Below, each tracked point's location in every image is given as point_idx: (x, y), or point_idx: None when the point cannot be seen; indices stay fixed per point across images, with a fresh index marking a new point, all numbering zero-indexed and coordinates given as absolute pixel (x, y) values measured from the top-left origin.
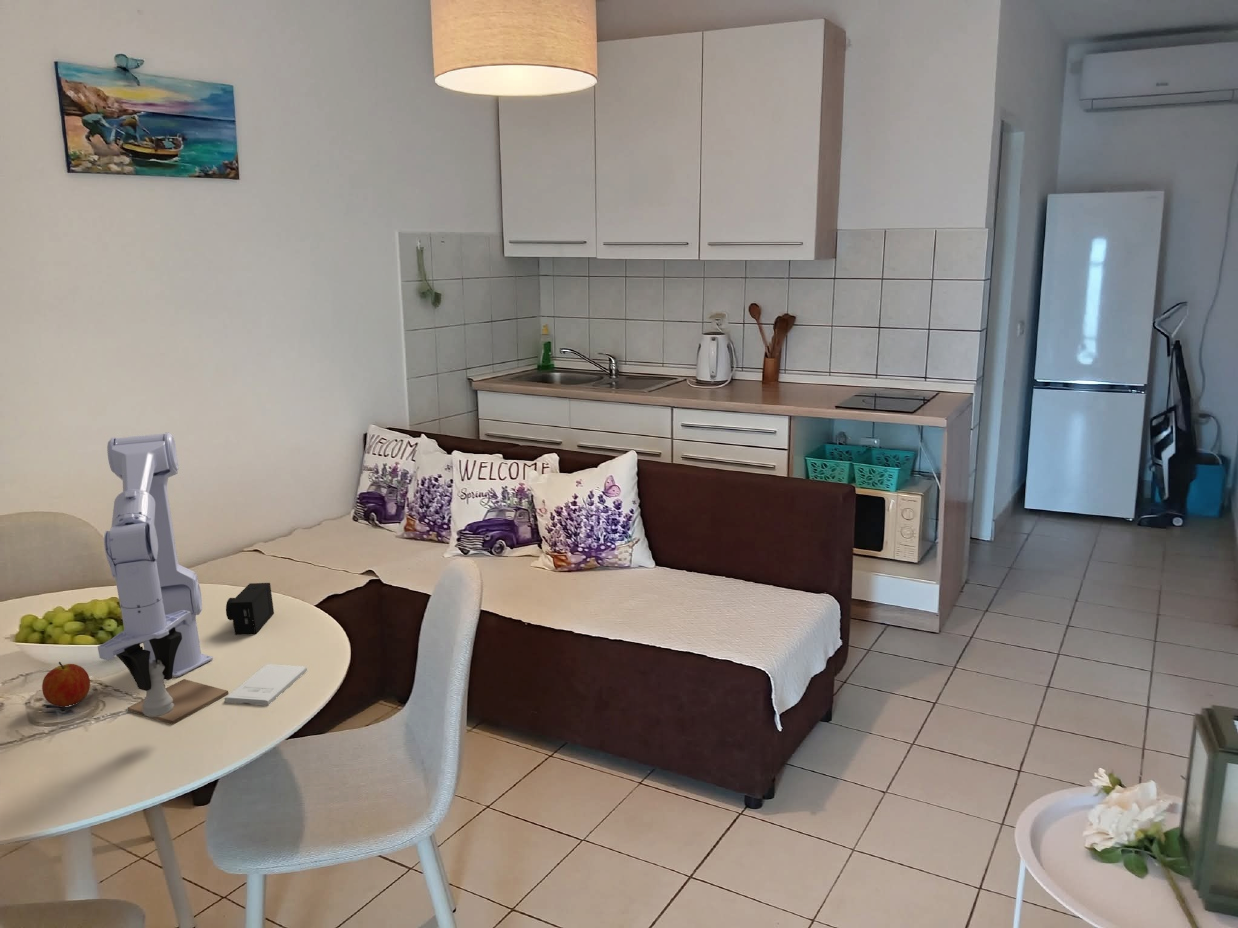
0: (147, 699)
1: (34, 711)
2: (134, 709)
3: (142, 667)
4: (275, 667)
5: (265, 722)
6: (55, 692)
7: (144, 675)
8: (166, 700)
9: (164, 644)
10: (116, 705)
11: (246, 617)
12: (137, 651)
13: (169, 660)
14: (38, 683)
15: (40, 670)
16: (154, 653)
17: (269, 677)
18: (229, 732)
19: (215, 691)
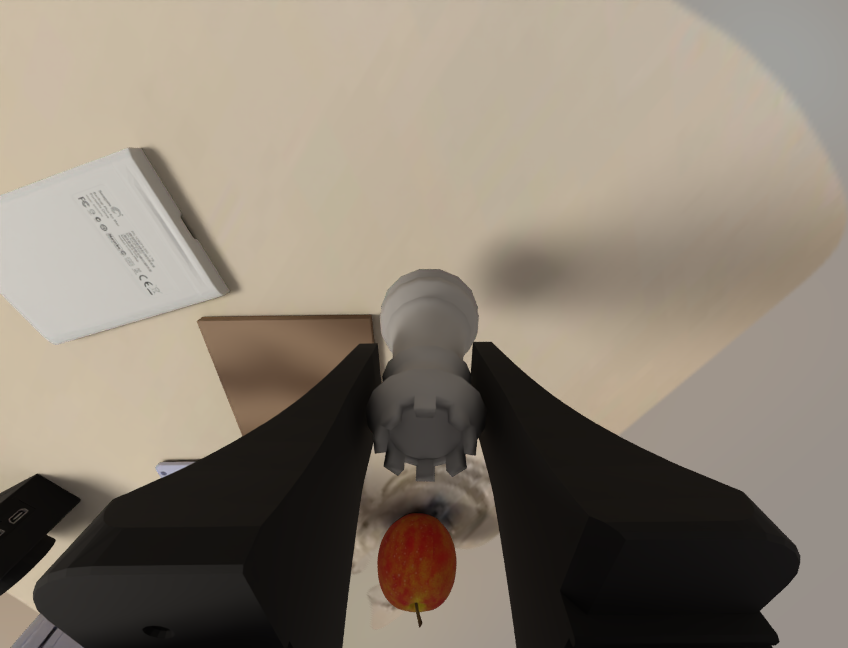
0: (466, 340)
1: (457, 537)
2: None
3: (579, 419)
4: (32, 305)
5: (198, 44)
6: (451, 554)
7: (533, 383)
8: (421, 290)
9: (313, 535)
10: (381, 465)
11: (5, 524)
12: (664, 602)
13: (343, 396)
14: None
15: (372, 602)
16: (358, 511)
17: (68, 272)
18: (312, 120)
19: (222, 345)
